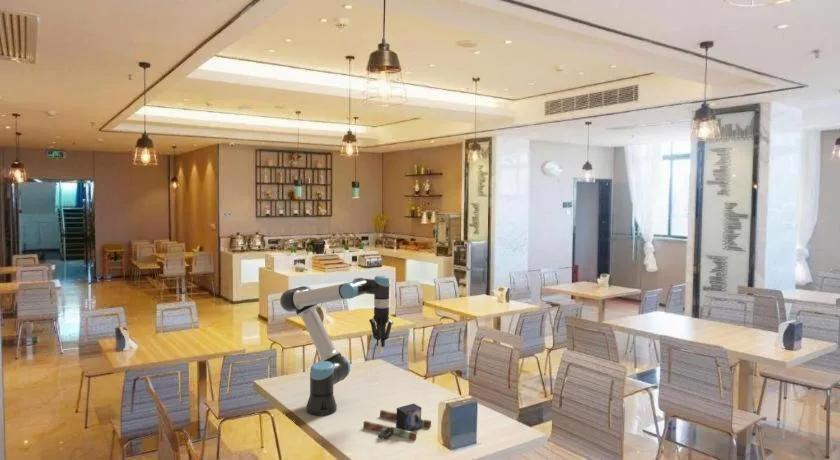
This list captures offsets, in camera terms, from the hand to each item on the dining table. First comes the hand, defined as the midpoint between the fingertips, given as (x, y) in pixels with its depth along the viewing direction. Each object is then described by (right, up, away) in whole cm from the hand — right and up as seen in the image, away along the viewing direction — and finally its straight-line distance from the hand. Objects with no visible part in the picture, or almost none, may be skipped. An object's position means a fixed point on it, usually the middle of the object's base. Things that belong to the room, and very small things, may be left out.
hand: (380, 352), depth 293 cm
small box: (+14, -32, -21) cm, 41 cm away
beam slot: (+9, -31, -19) cm, 38 cm away
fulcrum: (+4, -32, -30) cm, 44 cm away
